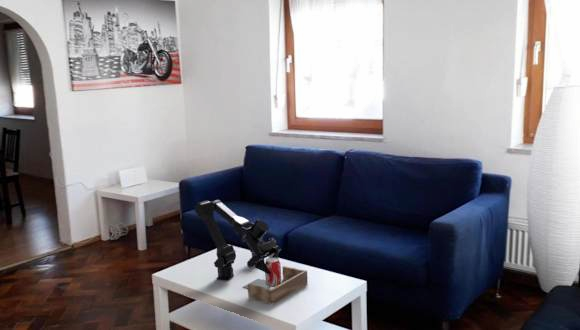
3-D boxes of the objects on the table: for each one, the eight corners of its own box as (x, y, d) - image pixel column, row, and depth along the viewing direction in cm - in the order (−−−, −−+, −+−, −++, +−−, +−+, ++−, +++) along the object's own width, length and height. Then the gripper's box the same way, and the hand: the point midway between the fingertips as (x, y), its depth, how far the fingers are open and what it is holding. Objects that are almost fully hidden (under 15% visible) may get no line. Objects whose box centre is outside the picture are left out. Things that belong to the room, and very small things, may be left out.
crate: (248, 297, 237) (247, 284, 236) (284, 277, 258) (284, 265, 257) (272, 304, 229) (271, 290, 228) (307, 283, 250) (307, 270, 249)
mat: (242, 287, 249) (242, 286, 249) (257, 279, 257) (257, 278, 257) (261, 292, 242) (261, 291, 242) (276, 283, 251) (276, 283, 251)
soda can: (279, 288, 241) (278, 262, 238) (264, 287, 242) (262, 262, 240) (282, 282, 247) (281, 257, 245) (267, 281, 249) (266, 256, 247)
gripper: (250, 239, 235) (272, 268, 231) (277, 228, 250) (297, 255, 246) (238, 253, 241) (258, 282, 237) (264, 242, 256) (284, 268, 252)
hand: (275, 271), depth 243 cm, fingers closed on soda can, 7 cm apart
